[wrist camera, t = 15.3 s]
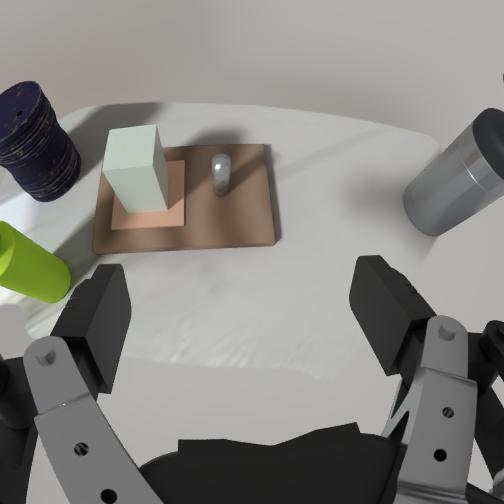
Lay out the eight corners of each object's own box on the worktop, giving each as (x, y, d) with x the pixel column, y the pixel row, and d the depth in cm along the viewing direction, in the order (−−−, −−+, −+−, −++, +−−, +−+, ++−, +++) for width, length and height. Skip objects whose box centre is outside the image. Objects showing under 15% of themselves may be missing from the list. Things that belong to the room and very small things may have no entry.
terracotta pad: (184, 161, 39) (184, 160, 39) (184, 225, 36) (183, 224, 36) (118, 167, 38) (118, 165, 38) (111, 230, 35) (111, 229, 35)
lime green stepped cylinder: (36, 253, 35) (-60, 186, 16) (75, 263, 35) (-21, 191, 16) (25, 295, 33) (-82, 249, 14) (64, 307, 33) (-46, 266, 14)
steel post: (228, 182, 39) (230, 153, 32) (229, 197, 38) (231, 168, 32) (212, 183, 38) (211, 153, 32) (212, 197, 38) (211, 169, 32)
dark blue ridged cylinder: (17, 191, 37) (-35, 138, 23) (50, 140, 40) (11, 78, 26) (58, 212, 37) (2, 153, 23) (94, 154, 40) (57, 83, 26)
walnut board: (262, 150, 42) (263, 144, 41) (272, 245, 38) (275, 241, 37) (107, 159, 40) (104, 153, 38) (96, 254, 36) (92, 251, 34)
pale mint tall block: (168, 174, 38) (156, 124, 28) (167, 210, 36) (152, 165, 27) (130, 177, 37) (109, 129, 28) (128, 213, 36) (102, 170, 26)
